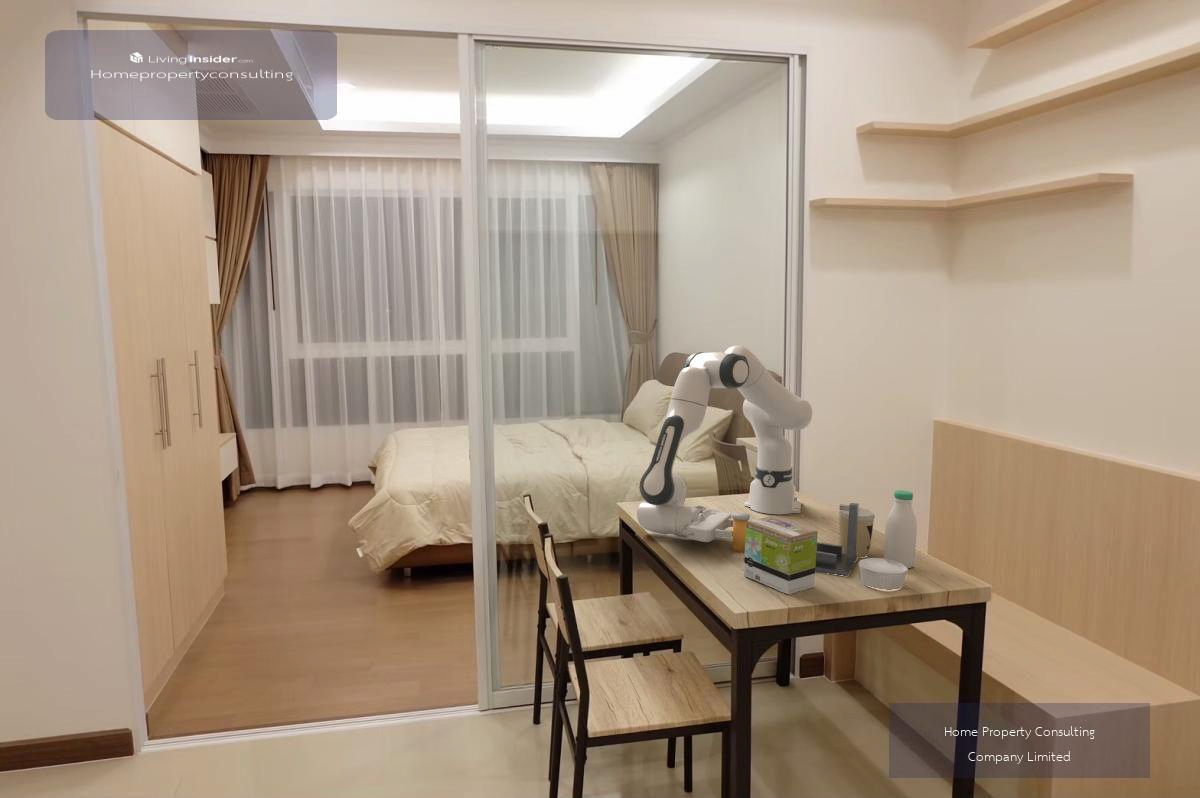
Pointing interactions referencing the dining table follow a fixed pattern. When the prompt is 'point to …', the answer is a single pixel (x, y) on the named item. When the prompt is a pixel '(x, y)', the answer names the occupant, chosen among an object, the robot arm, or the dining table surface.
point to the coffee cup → (863, 531)
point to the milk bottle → (901, 530)
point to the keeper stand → (839, 548)
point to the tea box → (780, 554)
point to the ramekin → (882, 573)
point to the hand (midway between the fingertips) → (737, 530)
